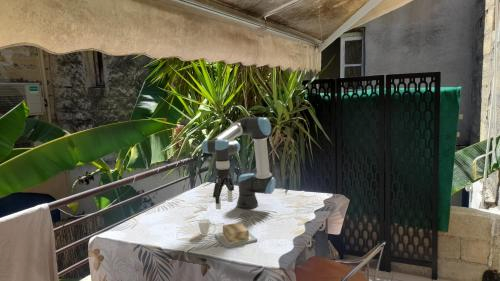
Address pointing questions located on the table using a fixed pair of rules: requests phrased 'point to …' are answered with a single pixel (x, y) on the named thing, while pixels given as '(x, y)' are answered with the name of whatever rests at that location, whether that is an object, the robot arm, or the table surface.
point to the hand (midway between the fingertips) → (224, 205)
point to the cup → (205, 226)
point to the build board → (231, 244)
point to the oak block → (235, 232)
